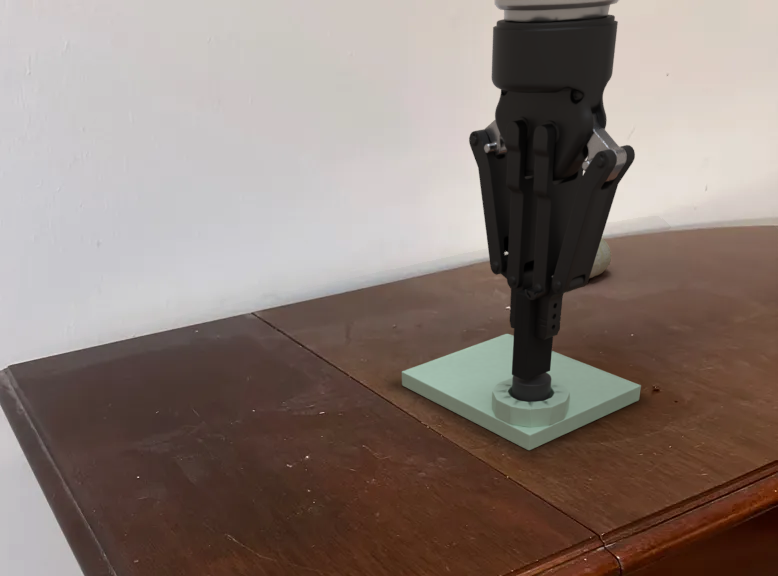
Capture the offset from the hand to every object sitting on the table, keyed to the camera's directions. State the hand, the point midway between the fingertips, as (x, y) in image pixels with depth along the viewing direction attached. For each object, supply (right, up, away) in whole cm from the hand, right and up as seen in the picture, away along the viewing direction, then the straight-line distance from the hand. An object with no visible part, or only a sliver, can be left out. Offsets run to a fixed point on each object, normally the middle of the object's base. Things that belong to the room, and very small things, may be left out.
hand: (531, 372), depth 63 cm
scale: (0, 0, +8) cm, 8 cm away
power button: (0, -2, +1) cm, 2 cm away
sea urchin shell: (+11, +18, +33) cm, 39 cm away
